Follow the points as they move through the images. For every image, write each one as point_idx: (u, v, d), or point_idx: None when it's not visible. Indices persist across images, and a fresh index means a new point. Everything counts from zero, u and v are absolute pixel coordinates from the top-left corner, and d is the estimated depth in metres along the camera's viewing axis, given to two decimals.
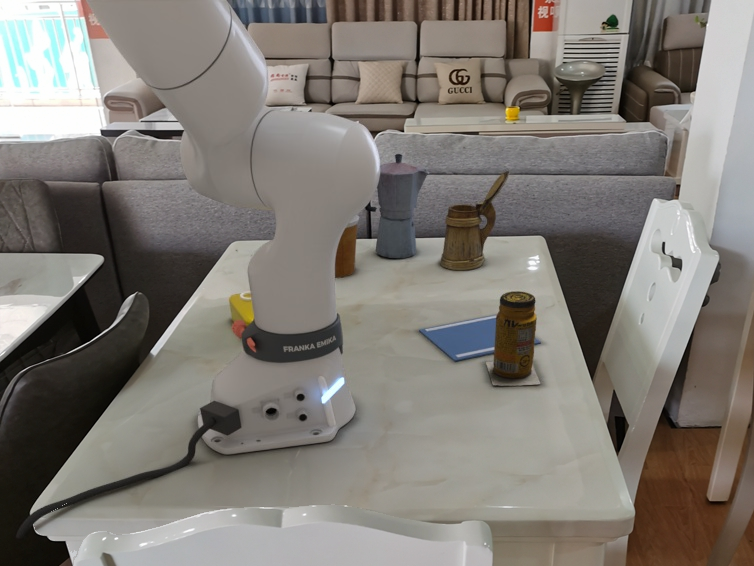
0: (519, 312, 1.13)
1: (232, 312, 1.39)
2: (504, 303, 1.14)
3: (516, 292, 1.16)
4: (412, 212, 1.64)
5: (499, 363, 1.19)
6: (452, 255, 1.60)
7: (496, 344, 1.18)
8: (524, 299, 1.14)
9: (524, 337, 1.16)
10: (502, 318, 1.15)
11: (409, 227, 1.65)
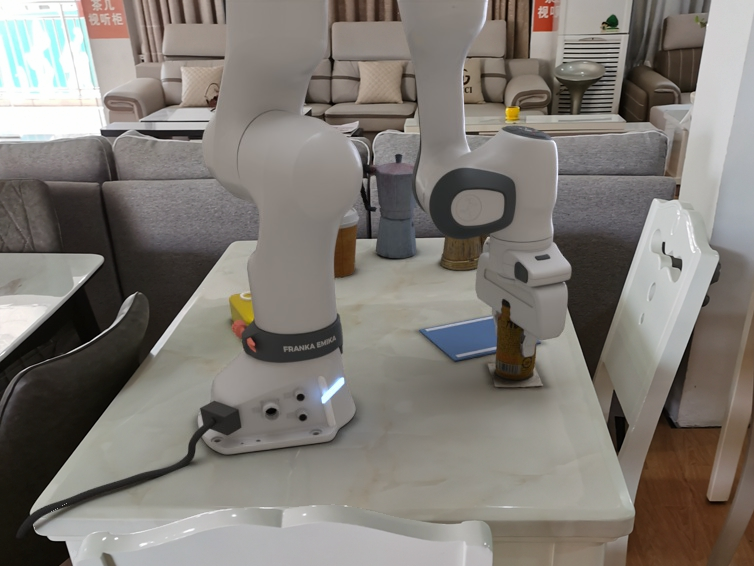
0: None
1: (232, 312, 1.39)
2: (506, 304, 1.13)
3: None
4: (412, 212, 1.64)
5: (501, 364, 1.19)
6: (452, 255, 1.60)
7: (498, 346, 1.18)
8: None
9: None
10: (504, 320, 1.15)
11: (409, 227, 1.65)
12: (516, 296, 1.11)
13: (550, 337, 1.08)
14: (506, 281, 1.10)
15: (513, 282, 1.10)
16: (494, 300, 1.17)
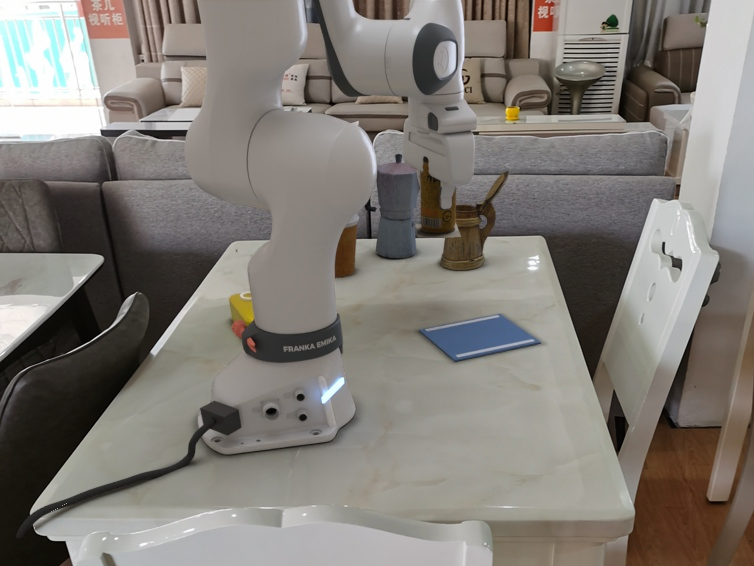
0: None
1: (232, 312, 1.39)
2: (426, 160, 1.27)
3: None
4: (412, 212, 1.64)
5: (424, 219, 1.33)
6: (452, 255, 1.60)
7: (421, 201, 1.32)
8: None
9: None
10: (425, 175, 1.29)
11: (409, 227, 1.65)
12: (432, 150, 1.25)
13: (460, 183, 1.22)
14: (423, 135, 1.24)
15: (429, 136, 1.24)
16: (417, 160, 1.31)
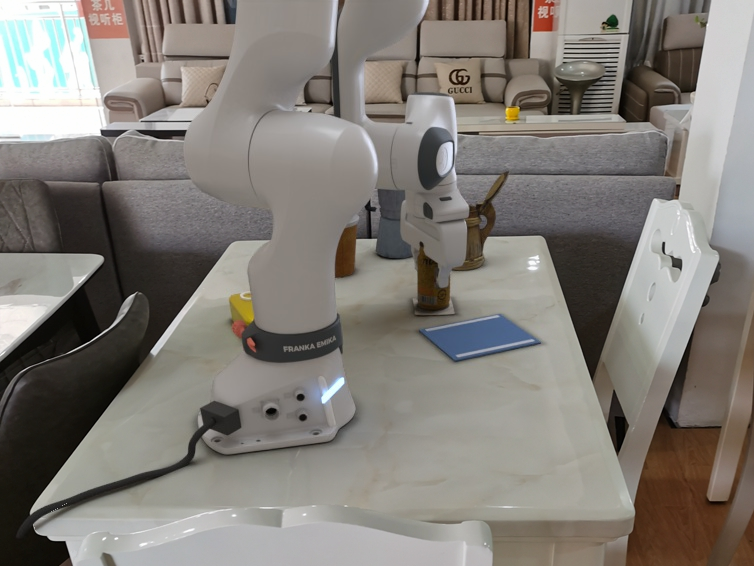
0: None
1: (232, 312, 1.39)
2: (422, 245, 1.37)
3: None
4: None
5: (421, 297, 1.42)
6: None
7: (418, 281, 1.42)
8: None
9: None
10: (421, 258, 1.38)
11: None
12: (428, 233, 1.35)
13: (454, 265, 1.32)
14: (419, 220, 1.34)
15: (424, 221, 1.33)
16: (413, 239, 1.40)
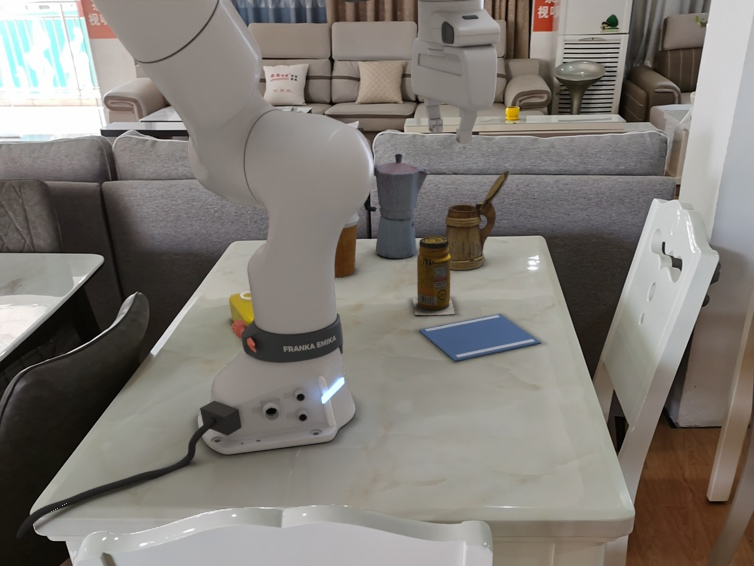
0: (434, 252, 1.37)
1: (232, 312, 1.39)
2: (422, 245, 1.37)
3: (433, 236, 1.40)
4: (412, 212, 1.64)
5: (421, 297, 1.42)
6: (452, 255, 1.60)
7: (418, 281, 1.42)
8: (438, 242, 1.37)
9: (439, 274, 1.39)
10: (421, 258, 1.38)
11: (409, 227, 1.65)
12: (446, 71, 1.07)
13: (480, 107, 1.04)
14: (436, 53, 1.06)
15: (443, 53, 1.05)
16: (427, 86, 1.12)
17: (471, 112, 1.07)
